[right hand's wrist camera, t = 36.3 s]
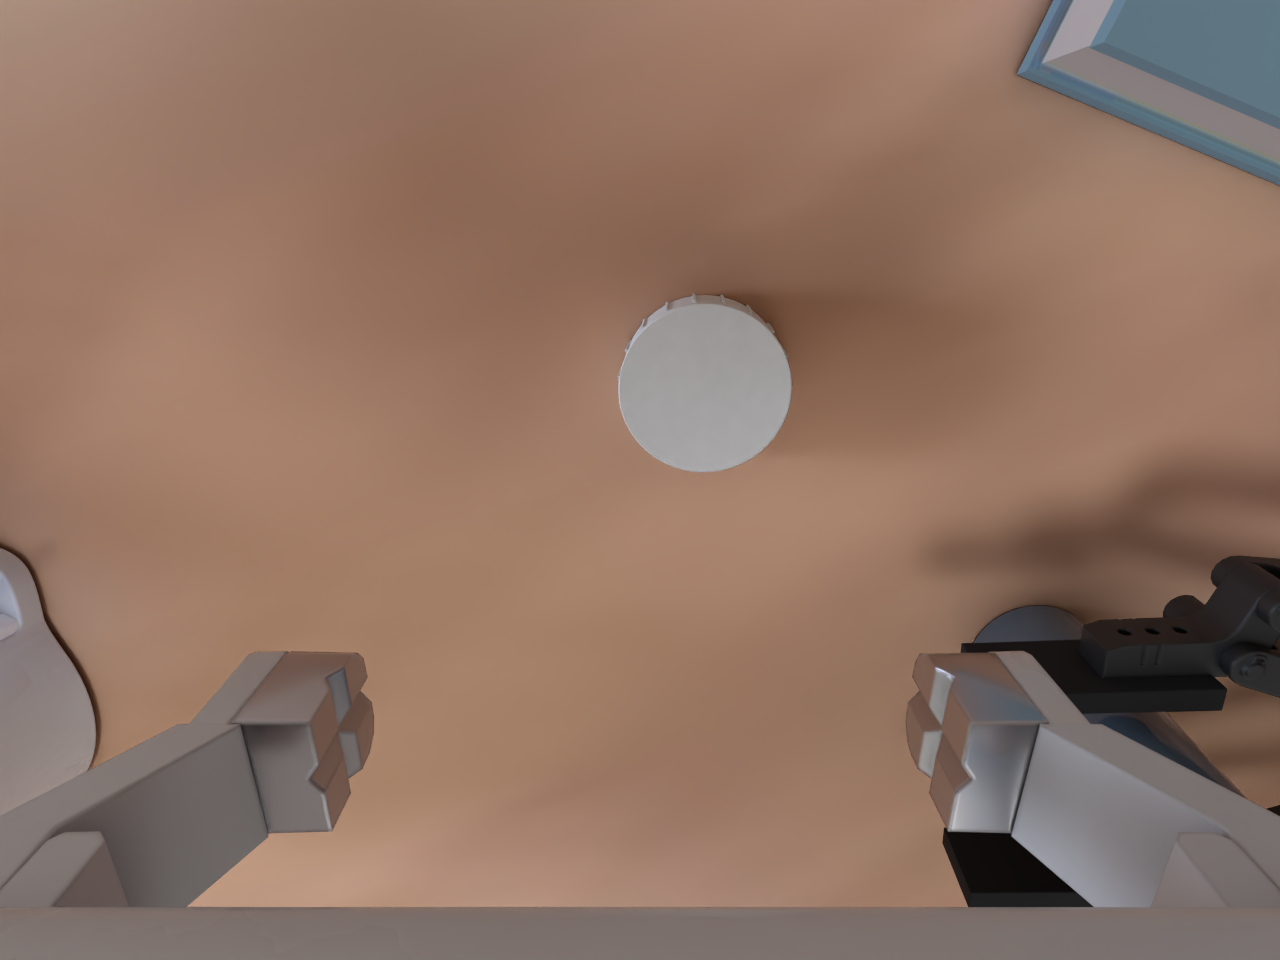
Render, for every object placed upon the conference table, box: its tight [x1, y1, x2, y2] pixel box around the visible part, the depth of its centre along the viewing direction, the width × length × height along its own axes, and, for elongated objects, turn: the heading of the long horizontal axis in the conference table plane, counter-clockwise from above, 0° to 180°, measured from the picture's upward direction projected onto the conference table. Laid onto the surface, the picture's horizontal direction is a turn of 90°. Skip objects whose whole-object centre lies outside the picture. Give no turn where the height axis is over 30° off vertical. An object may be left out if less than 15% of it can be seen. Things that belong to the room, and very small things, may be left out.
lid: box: [618, 294, 792, 472], centre depth 26 cm, size 6×6×2 cm
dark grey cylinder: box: [974, 606, 1248, 800], centre depth 21 cm, size 5×5×20 cm
